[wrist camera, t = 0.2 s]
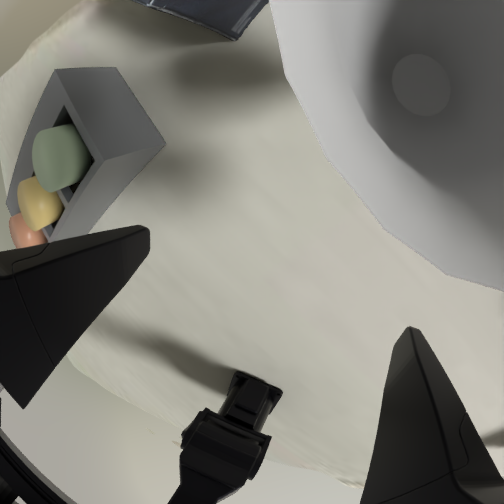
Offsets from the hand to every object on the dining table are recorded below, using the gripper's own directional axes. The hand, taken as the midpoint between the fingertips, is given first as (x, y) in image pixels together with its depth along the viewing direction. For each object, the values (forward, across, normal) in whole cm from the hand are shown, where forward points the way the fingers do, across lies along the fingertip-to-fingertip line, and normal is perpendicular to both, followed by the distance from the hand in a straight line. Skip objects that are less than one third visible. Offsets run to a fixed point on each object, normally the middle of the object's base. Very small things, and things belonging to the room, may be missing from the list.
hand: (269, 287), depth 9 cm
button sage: (+8, +20, +1) cm, 22 cm away
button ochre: (+8, +25, +6) cm, 27 cm away
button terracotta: (+8, +29, +12) cm, 33 cm away
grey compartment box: (+15, +26, +6) cm, 30 cm away
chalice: (+15, -3, -7) cm, 17 cm away
